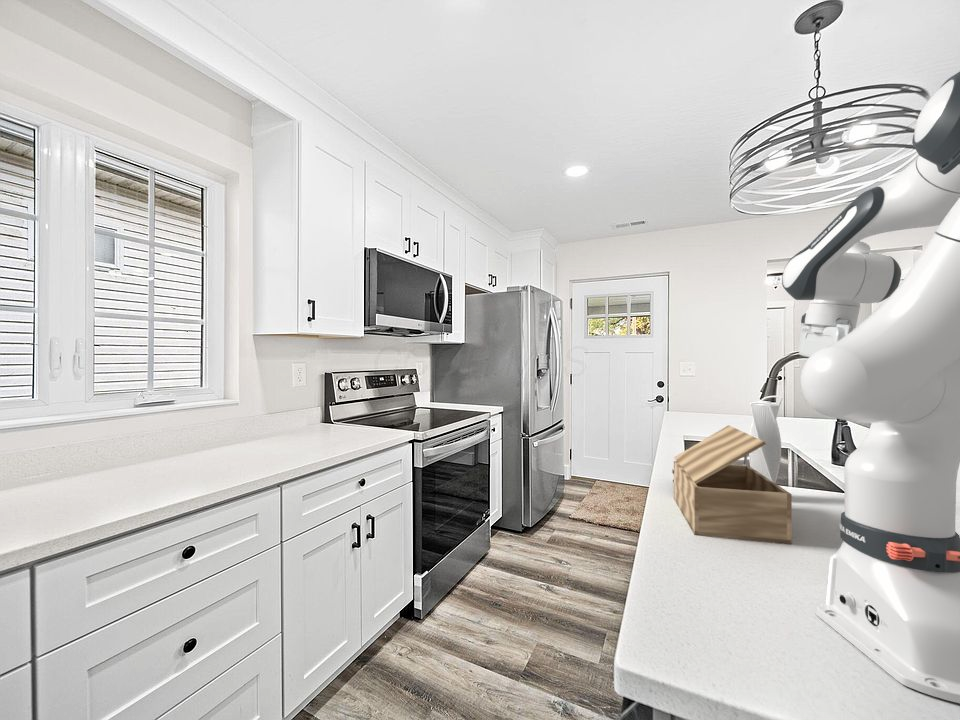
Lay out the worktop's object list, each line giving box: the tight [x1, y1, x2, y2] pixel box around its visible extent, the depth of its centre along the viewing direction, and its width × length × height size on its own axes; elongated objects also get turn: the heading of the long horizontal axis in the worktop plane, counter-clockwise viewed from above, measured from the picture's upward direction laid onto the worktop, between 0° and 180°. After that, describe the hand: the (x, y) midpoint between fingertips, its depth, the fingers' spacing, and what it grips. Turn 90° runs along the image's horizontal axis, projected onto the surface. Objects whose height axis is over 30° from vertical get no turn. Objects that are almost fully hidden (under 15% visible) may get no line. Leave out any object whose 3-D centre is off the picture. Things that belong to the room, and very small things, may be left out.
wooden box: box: [673, 460, 793, 545], centre depth 103 cm, size 26×18×10 cm
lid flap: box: [673, 425, 766, 484], centre depth 103 cm, size 25×16×1 cm
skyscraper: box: [742, 395, 784, 484], centre depth 119 cm, size 8×8×28 cm
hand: (818, 380), depth 98 cm, fingers closed
